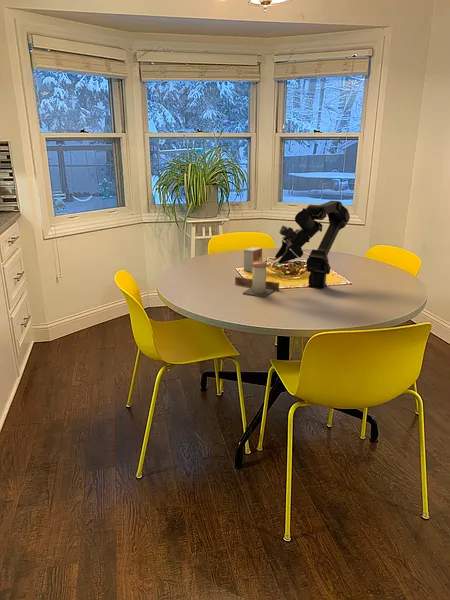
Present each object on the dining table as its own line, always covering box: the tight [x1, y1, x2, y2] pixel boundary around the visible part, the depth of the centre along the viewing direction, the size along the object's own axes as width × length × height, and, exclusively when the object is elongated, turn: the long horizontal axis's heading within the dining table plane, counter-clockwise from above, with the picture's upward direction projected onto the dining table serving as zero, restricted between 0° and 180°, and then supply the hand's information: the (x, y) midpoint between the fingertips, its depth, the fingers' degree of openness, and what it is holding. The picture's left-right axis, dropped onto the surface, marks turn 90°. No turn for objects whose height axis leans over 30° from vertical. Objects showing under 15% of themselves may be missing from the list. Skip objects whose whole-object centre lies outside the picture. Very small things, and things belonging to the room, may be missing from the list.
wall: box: [234, 276, 280, 291], centre depth 196 cm, size 20×1×3 cm, turn 63°
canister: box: [251, 260, 268, 293], centre depth 187 cm, size 6×6×12 cm
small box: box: [243, 246, 263, 273], centre depth 221 cm, size 8×6×10 cm
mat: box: [242, 286, 275, 298], centre depth 189 cm, size 10×10×1 cm
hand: (277, 260), depth 185 cm, fingers open, 9 cm apart
